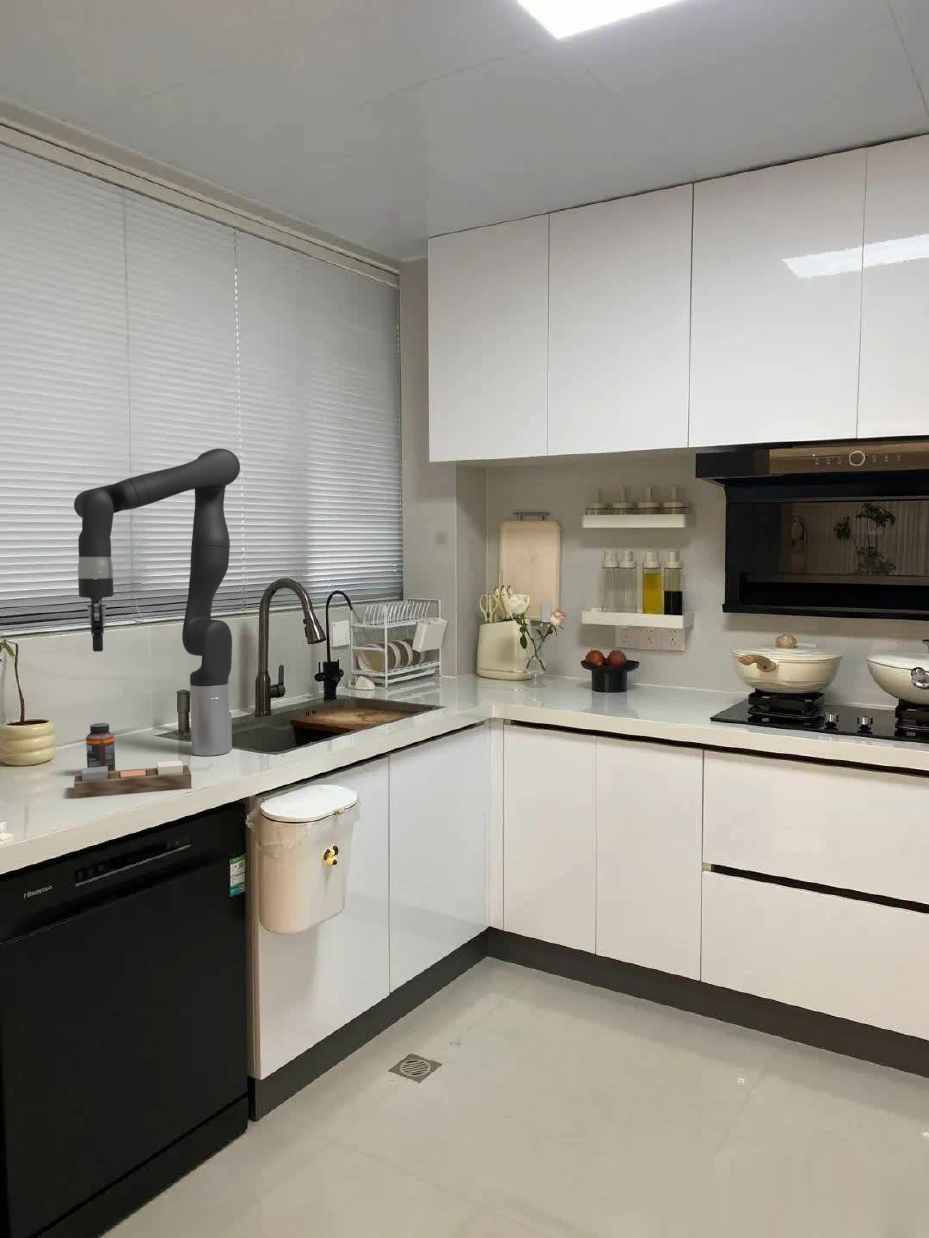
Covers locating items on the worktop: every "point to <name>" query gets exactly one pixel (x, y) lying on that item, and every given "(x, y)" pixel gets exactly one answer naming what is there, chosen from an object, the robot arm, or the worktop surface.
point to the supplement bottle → (100, 747)
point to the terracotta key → (132, 773)
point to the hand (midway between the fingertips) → (98, 651)
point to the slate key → (95, 773)
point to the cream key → (169, 767)
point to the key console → (131, 783)
